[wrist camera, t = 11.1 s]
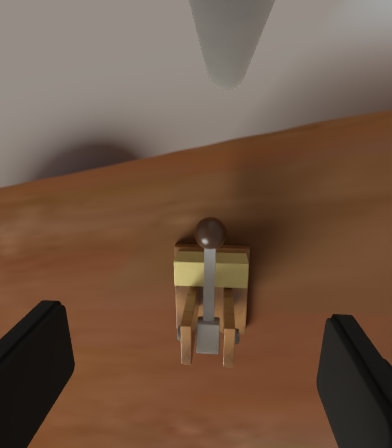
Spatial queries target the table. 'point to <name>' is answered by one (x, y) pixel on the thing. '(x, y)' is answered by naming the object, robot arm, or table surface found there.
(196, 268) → the butter
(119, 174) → the table surface
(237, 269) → the butter
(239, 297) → the wooden toy catapult
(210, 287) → the ball knob on post
